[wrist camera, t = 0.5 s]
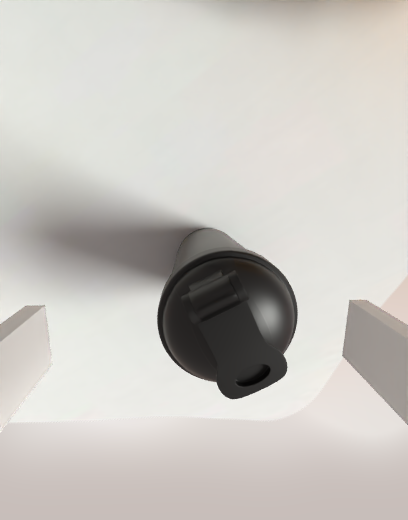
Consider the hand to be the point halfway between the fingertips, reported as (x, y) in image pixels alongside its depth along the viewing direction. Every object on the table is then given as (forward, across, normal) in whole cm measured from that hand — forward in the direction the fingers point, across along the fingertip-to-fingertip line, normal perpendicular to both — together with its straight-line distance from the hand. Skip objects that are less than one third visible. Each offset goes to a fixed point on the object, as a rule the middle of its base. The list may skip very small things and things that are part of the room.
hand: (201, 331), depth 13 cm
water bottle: (+28, +2, -3) cm, 28 cm away
